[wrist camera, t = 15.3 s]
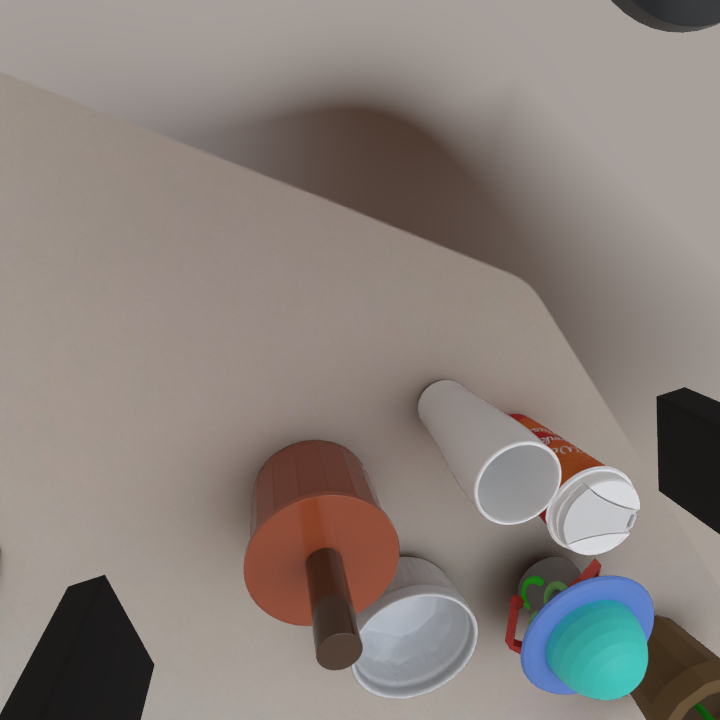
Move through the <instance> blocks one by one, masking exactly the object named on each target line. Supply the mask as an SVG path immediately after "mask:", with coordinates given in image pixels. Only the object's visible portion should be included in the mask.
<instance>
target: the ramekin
mask: <svg viewBox="0 0 720 720" xmlns="http://www.w3.org/2000/svg"><path fill="white" fill-rule="evenodd" d="M356 618H357V622H358V627H359V631H360V635H361V640H362V644H363V651H362V654H361V656H360V658H359V659H358V660H357V661H356V662H355V663H354V664H353V665H351V669H352V672H353V674H354V676H355V678H356V680H357V681H358V682H359V684H360V685H361V686H362V687H363V688H365V689H366V690H367V691H369V692H371V693H373V694H375V695H378V696H381V697H386V698H393V699H401V698H410V697H415V696H419V695H422V694H425V693H428V692H430V691H432V690H435V689H437V688H438V687H440V686H442V685H444V684H445V683H447V682H448V681H449V680H451V679H452V678H453V677H454V676H456V675H457V674H458V673H459V672H460V671H461V670H462V669H463V667H464V666H465V665H466V664H467V662H468V661H469V659H470V658H471V656H472V654H473V652H474V649H475V647H476V643H477V638H478V626H477V622H476V619H475V617H474V615H473V612H472V610H471V608H470V606H469V605H468V603H467V602H466V601H465V599H464V598H463V597H462V596H461V595H459V594H458V592H457V591H456V589H455V588H454V586H453V585H452V584H451V582H450V581H449V579H448V578H447V577H446V575H445V574H444V573H443V572H442V571H441V570H440V569H439V568H438V567H437V566H435V565H434V564H433V563H431V562H428V561H427V560H423V559H420V558H416V557H399V561H398V566H397V569H396V572H395V575H394V577H393V579H392V581H391V583H390V584H389V586H388V587H387V589H386V590H385V591H384V593H383V594H382V595H381V596H380V597H379V598H378V599H377V600H376V601H375V602H374V603H373V604H371V605H370V606H369V607H368V608H366V609H365V610H363V611H362V612H360V613H358V614H356Z"/></svg>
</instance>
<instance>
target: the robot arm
mask: <svg viewBox="0 0 720 720" xmlns="http://www.w3.org/2000/svg"><path fill="white" fill-rule="evenodd" d="M657 437H658V479H659V491H660V492H661V493H663V494H664V495H666V496H667V497H669V498H670V499H671V500H673V501H674V502H675V503H677V504H678V505H680V506H681V507H682V508H684V509H685V510H687V511H688V512H690V513H691V514H692V515H694V516H695V517H696V518H698V519H699V520H701V521H702V522H703V523H705V524H706V525H707V526H709V527H710V528H712V529H713V530H714V531H716V532H717V533H719V534H720V402H718V401H716V400H713V399H711V398H709V397H706V396H704V395H702V394H699V393H697V392H695V391H692V390H690V389H687V388H685V387H684V388H681V389H679V390H676V391H672V392H669V393H666V394H663V395H660V396H657ZM153 668H154V663H153V661H152V660H151V658H150V656H149V654H148V652H147V650H146V649H145V647H144V645H143V643H142V641H141V640H140V638H139V636H138V634H137V632H136V631H135V629H134V627H133V625H132V623H131V621H130V620H129V618H128V616H127V614H126V612H125V611H124V609H123V607H122V605H121V603H120V601H119V600H118V598H117V596H116V594H115V592H114V591H113V589H112V587H111V585H110V583H109V581H108V580H107V578H106V576H105V575H103V576H100V577H97V578H93V579H90V580H87V581H84V582H81V583H78V584H75V585H72V586H69V587H68V588H67V590H66V592H65V594H64V596H63V597H62V599H61V601H60V603H59V605H58V607H57V609H56V611H55V612H54V614H53V616H52V618H51V620H50V622H49V624H48V626H47V627H46V629H45V631H44V633H43V635H42V637H41V639H40V641H39V642H38V644H37V646H36V648H35V650H34V652H33V654H32V656H31V657H30V659H29V661H28V663H27V665H26V667H25V669H24V671H23V672H22V674H21V676H20V678H19V680H18V682H17V684H16V686H15V688H14V689H13V691H12V693H11V695H10V697H9V699H8V701H7V703H6V704H5V706H4V708H3V710H2V712H1V714H0V720H141V716H142V712H143V708H144V704H145V700H146V696H147V692H148V688H149V684H150V680H151V676H152V672H153Z"/></svg>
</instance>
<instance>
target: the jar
mask: <svg viewBox="0 0 720 720" xmlns="http://www.w3.org/2000/svg"><path fill="white" fill-rule="evenodd" d="M323 491H339V492H347V493H351V494H355V495H358V496H361V497H363V498H365V499H367V500H369V501H371V502H373V503H374V504H375V505H377V506H378V507H380V508H381V506H380V504H379V501H378V499H377V496H376V494H375V491H374V489H373V486H372V484H371V481H370V479H369V476H368V474H367V472H366V471H365V469H364V467H363V465H362V463H361V462H360V461H359V459H358V458H357V457H356V456H355V455H354V454H353V453H352V452H350V451H349V450H348V449H346V448H344V447H342V446H340V445H338V444H335V443H332V442H328V441H313V440H312V441H304V442H300V443H296V444H293V445H290V446H288V447H286V448H284V449H282V450H281V451H279V452H278V453H276V454H275V455H274V456H272V457H271V458H270V459H269V460H268V461H267V462H266V463H265V465H264V466H263V467H262V469H261V470H260V472H259V474H258V476H257V478H256V481H255V484H254V489H253V494H252V505H251V532H250V538H251V537H252V535H253V533H254V531H255V530H256V529H257V527H258V526H259V524H260V523H261V522H262V521H263V520H264V519H265V518H266V517H267V516H268V515H269V514H270V513H272V512H273V511H274V510H275V509H277V508H278V507H280V506H281V505H283V504H285V503H287V502H289V501H291V500H293V499H295V498H298V497H300V496H303V495H307V494H311V493H316V492H323ZM381 509H382V508H381Z"/></svg>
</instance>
